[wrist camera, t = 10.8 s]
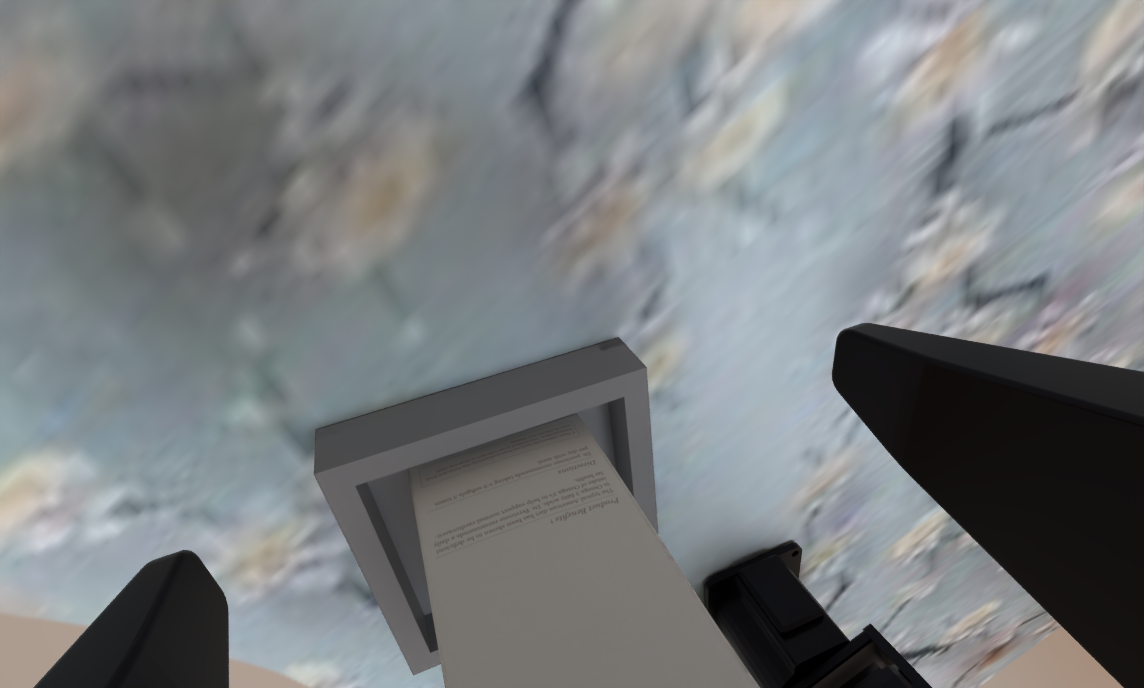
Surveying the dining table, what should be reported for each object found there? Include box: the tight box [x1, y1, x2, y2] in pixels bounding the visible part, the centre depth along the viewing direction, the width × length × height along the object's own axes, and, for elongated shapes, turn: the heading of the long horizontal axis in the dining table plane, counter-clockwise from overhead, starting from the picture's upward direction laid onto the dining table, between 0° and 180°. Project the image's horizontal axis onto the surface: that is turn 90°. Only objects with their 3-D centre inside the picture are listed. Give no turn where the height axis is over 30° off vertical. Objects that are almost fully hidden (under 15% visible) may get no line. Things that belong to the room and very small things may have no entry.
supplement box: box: [408, 414, 760, 688], centre depth 19 cm, size 7×7×13 cm
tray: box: [314, 338, 658, 675], centre depth 24 cm, size 12×12×2 cm
